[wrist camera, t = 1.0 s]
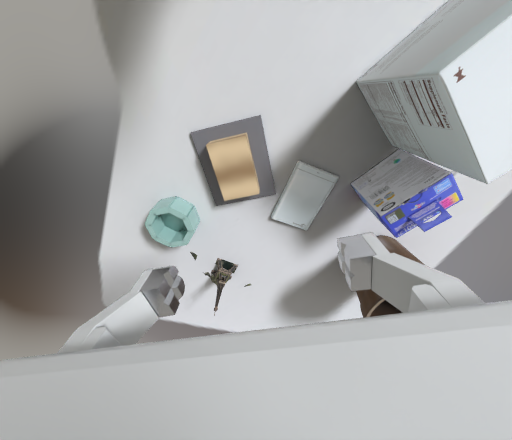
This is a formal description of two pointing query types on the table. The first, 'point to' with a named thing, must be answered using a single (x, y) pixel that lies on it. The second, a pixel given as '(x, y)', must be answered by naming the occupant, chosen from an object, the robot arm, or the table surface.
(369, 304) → the plant pot
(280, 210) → the hard drive
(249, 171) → the lid
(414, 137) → the supplement box
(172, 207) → the bowl
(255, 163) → the mat
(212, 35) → the table surface
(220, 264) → the eiffel tower figurine
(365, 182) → the ink cartridge box
